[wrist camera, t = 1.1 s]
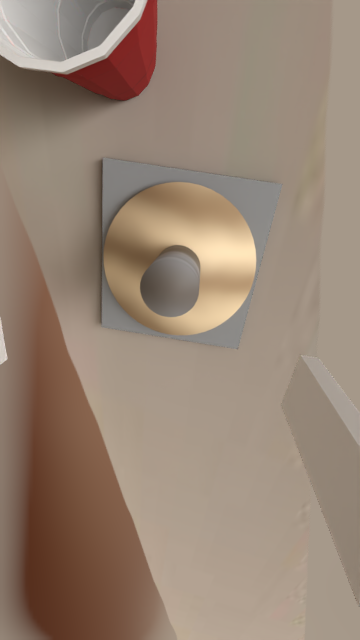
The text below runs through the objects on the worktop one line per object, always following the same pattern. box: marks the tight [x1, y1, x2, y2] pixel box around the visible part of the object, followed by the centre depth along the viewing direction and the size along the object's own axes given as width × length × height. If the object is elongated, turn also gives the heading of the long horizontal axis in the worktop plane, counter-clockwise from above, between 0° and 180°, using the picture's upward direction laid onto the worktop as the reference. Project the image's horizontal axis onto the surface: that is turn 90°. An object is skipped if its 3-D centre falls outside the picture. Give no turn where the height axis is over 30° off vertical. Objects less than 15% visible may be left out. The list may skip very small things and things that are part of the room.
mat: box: [102, 158, 282, 349], centre depth 27 cm, size 17×16×1 cm
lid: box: [104, 182, 256, 335], centre depth 23 cm, size 15×15×8 cm
